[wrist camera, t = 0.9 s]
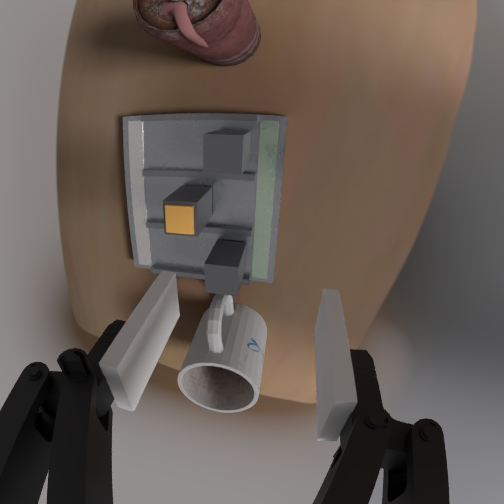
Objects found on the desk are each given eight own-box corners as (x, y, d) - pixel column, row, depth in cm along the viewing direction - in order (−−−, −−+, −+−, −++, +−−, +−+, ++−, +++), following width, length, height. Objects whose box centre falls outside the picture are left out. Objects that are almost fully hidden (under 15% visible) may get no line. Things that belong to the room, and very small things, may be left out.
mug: (261, 358, 40) (252, 418, 31) (199, 345, 40) (178, 402, 32) (278, 284, 34) (272, 346, 26) (203, 270, 35) (175, 326, 26)
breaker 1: (218, 129, 26) (203, 134, 22) (251, 130, 26) (243, 135, 21) (217, 161, 27) (203, 172, 23) (250, 163, 27) (241, 174, 23)
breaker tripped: (182, 185, 29) (161, 201, 24) (212, 186, 29) (196, 203, 24) (183, 214, 30) (163, 235, 25) (211, 216, 30) (196, 238, 25)
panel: (129, 115, 28) (118, 117, 26) (287, 116, 26) (286, 116, 24) (140, 260, 35) (131, 270, 33) (273, 275, 34) (272, 287, 32)
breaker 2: (216, 239, 31) (204, 263, 27) (246, 242, 31) (238, 267, 26) (217, 265, 32) (205, 292, 28) (245, 268, 32) (237, 296, 28)
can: (212, 79, 25) (147, 60, 13) (188, 27, 23) (115, -19, 11) (272, 55, 24) (255, 10, 11) (246, 2, 21) (210, -68, 9)
